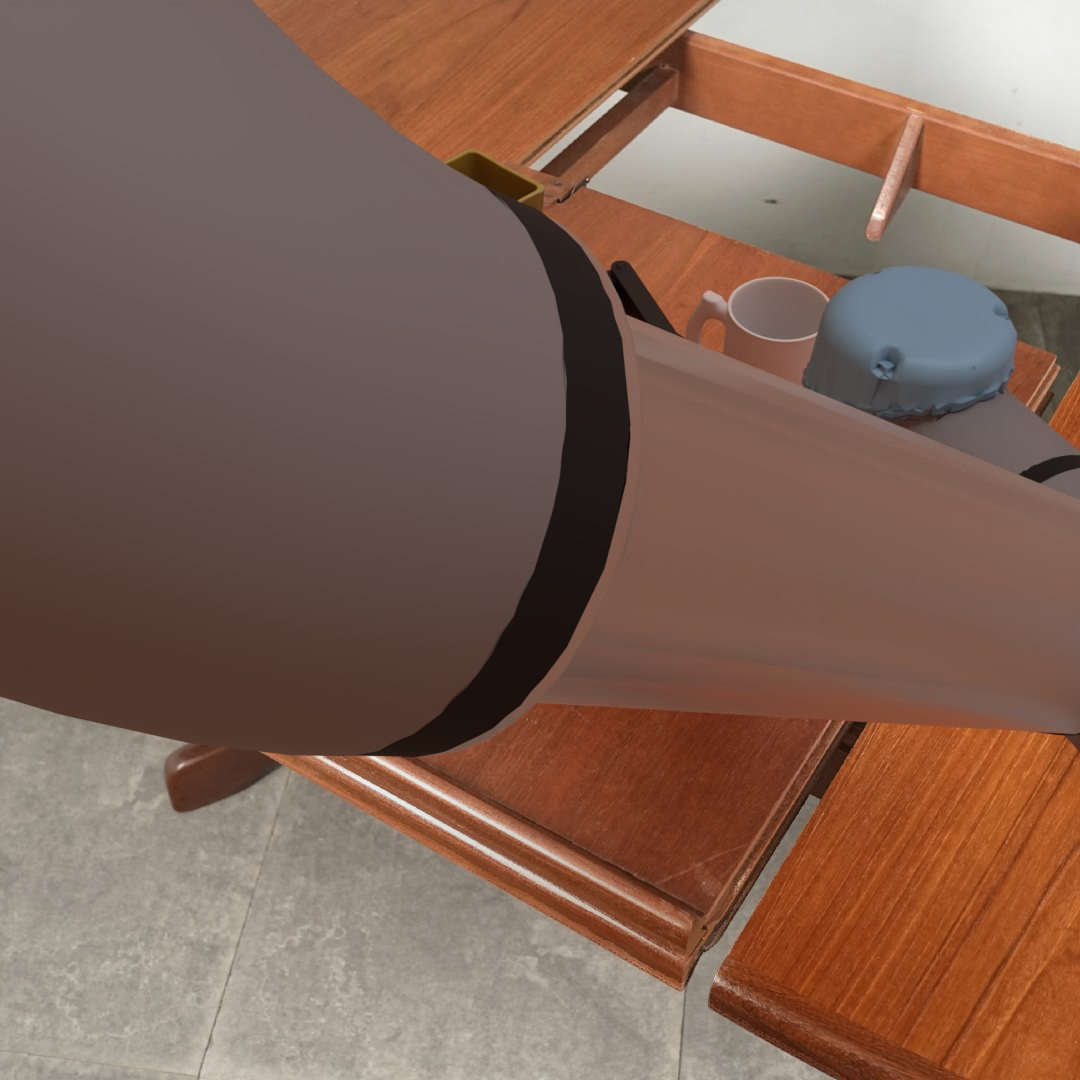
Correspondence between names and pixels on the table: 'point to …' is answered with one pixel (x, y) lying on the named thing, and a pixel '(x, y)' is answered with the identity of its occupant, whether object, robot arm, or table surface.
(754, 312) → the mug
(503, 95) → the table surface
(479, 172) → the flower pot
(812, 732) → the table surface
